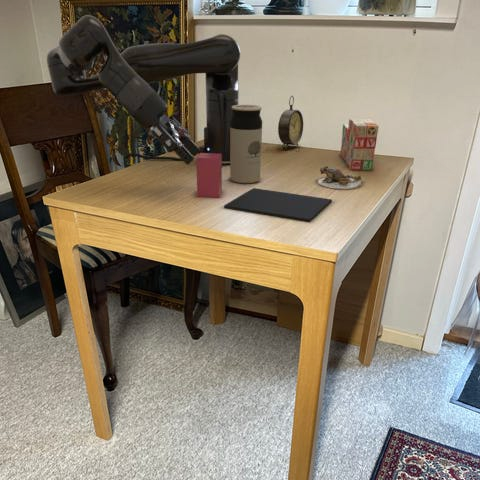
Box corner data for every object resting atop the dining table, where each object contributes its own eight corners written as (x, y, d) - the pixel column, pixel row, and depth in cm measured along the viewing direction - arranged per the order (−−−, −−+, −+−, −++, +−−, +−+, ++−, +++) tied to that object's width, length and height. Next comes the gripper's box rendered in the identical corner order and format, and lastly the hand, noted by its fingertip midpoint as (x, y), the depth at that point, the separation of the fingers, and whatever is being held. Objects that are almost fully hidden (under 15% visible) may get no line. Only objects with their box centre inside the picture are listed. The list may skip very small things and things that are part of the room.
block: (197, 196, 118) (196, 157, 113) (200, 190, 122) (199, 152, 118) (218, 197, 117) (218, 158, 113) (221, 191, 122) (221, 153, 117)
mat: (224, 207, 110) (224, 205, 110) (253, 190, 123) (253, 187, 123) (309, 222, 103) (309, 219, 103) (331, 201, 116) (331, 199, 115)
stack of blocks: (339, 154, 161) (344, 113, 155) (359, 154, 161) (364, 113, 155) (350, 170, 143) (356, 124, 136) (372, 170, 143) (379, 125, 136)
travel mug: (225, 177, 133) (225, 105, 124) (252, 175, 136) (254, 104, 127) (237, 185, 127) (238, 109, 118) (265, 182, 130) (268, 108, 121)
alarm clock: (288, 151, 164) (291, 97, 156) (274, 149, 166) (276, 96, 158) (302, 145, 172) (306, 94, 164) (289, 143, 175) (292, 93, 166)
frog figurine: (312, 186, 127) (313, 171, 125) (322, 175, 137) (323, 161, 135) (357, 191, 124) (359, 176, 122) (364, 180, 133) (366, 165, 131)
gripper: (140, 110, 118) (189, 161, 123) (122, 119, 106) (177, 176, 111) (160, 87, 115) (210, 140, 120) (144, 93, 103) (200, 152, 108)
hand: (194, 157), depth 116 cm, fingers open, 8 cm apart
